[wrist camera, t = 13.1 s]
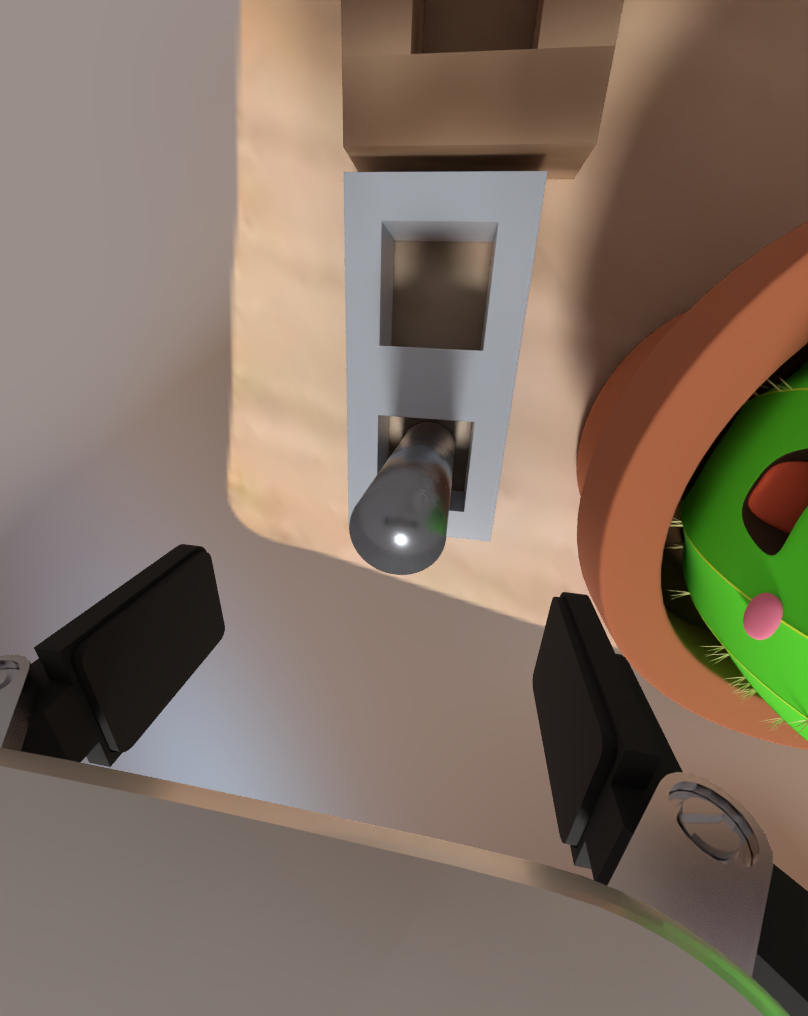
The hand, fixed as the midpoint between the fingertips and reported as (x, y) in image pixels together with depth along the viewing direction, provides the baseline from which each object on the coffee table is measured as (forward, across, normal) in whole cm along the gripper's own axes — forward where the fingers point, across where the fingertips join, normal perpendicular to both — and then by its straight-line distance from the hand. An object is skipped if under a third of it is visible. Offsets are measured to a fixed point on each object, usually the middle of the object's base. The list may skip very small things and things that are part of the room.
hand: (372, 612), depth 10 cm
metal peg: (+19, 0, +1) cm, 19 cm away
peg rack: (+20, 0, -4) cm, 20 cm away
